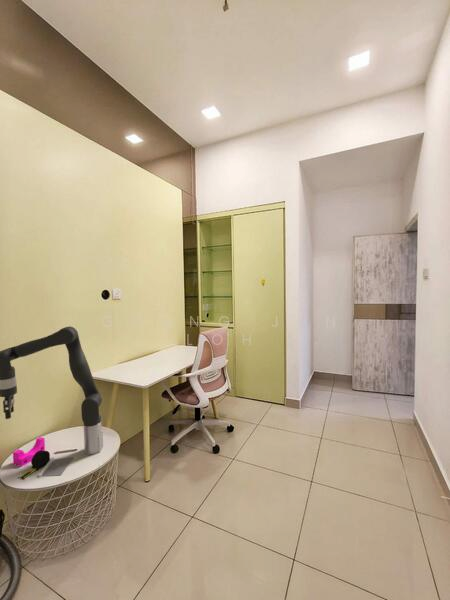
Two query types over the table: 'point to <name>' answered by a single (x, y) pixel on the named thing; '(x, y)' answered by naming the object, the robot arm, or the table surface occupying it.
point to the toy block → (28, 453)
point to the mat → (55, 467)
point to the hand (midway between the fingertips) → (9, 415)
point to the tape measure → (38, 462)
